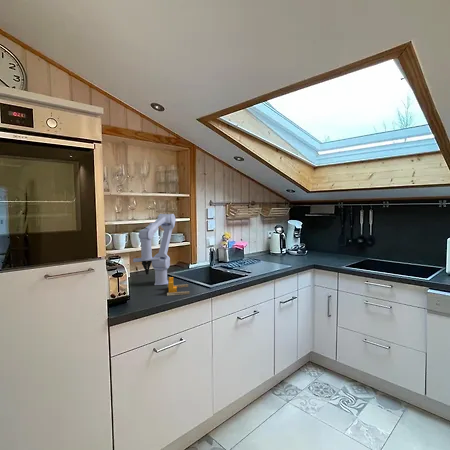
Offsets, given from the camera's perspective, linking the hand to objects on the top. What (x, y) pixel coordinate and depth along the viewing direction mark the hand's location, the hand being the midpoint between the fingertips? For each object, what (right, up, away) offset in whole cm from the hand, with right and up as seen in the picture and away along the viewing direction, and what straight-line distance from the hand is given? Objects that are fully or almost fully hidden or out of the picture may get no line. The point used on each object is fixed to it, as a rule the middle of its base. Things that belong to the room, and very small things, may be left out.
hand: (147, 274), depth 172 cm
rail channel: (+18, -9, -1) cm, 20 cm away
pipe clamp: (+15, -10, -1) cm, 18 cm away
